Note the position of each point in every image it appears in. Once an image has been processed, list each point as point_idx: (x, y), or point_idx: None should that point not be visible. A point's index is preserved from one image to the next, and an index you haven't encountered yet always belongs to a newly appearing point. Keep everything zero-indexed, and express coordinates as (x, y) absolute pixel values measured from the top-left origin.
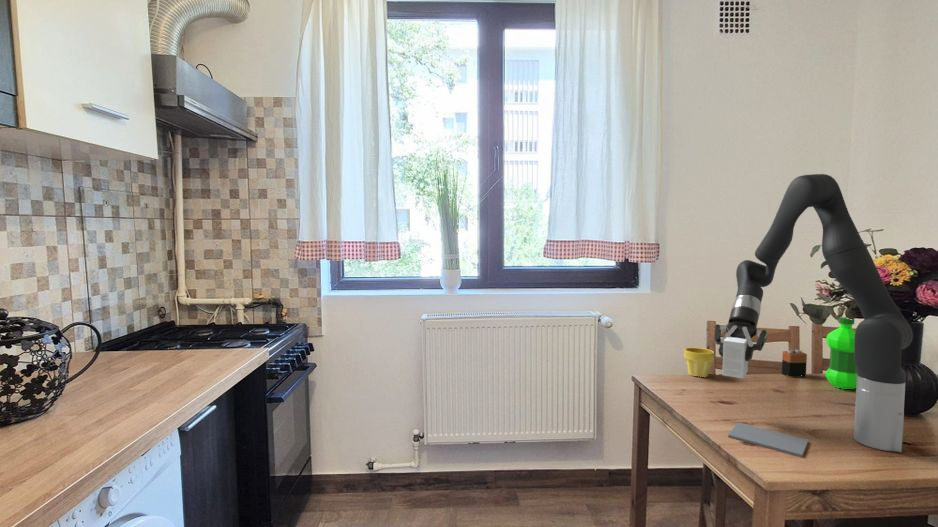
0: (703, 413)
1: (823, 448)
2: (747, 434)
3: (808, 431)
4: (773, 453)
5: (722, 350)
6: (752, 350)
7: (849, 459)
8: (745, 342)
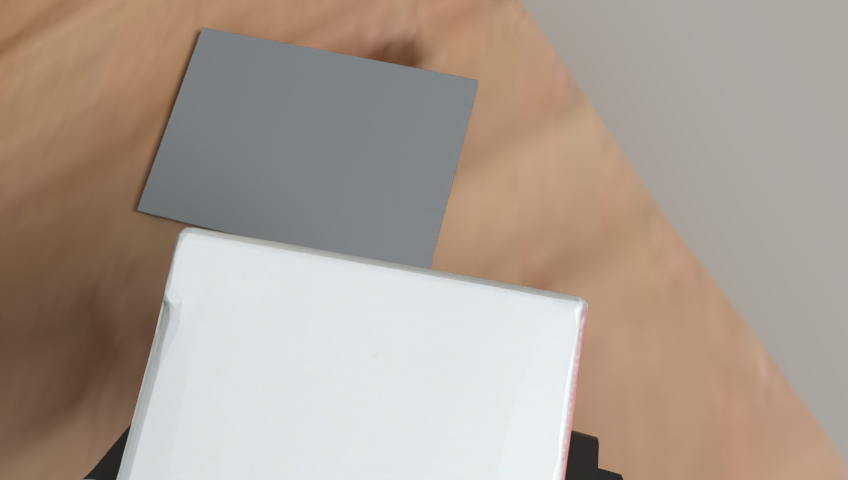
0: (614, 368)
1: (101, 174)
2: (392, 129)
3: (105, 366)
4: (307, 11)
5: (570, 468)
6: (109, 455)
7: (39, 110)
8: (145, 372)
